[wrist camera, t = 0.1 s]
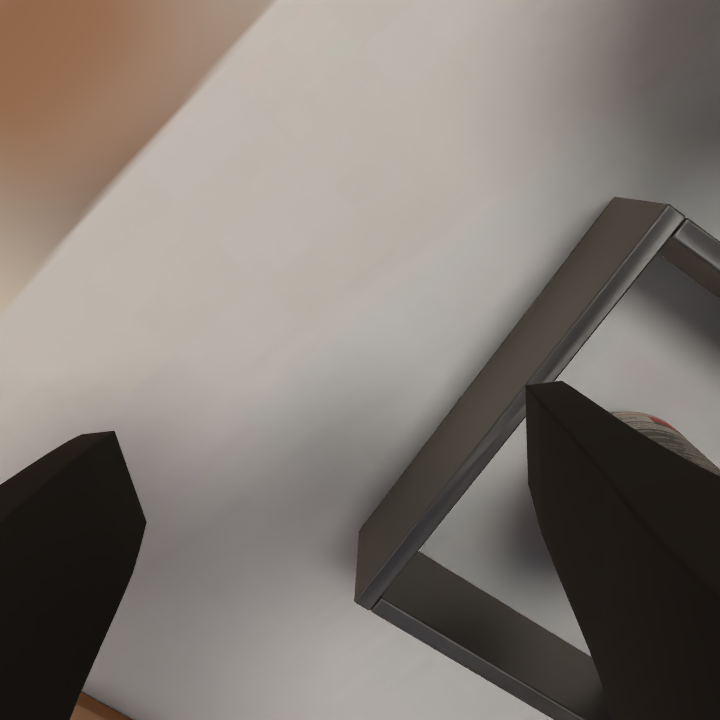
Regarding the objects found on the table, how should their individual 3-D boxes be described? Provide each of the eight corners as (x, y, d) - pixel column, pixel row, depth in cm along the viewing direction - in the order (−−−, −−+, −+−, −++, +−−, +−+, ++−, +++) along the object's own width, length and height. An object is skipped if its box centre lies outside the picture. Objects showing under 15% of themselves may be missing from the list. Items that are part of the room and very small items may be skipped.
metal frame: (621, 691, 25) (663, 784, 21) (358, 531, 24) (353, 601, 20) (902, 407, 22) (1013, 459, 18) (614, 195, 20) (669, 203, 16)
